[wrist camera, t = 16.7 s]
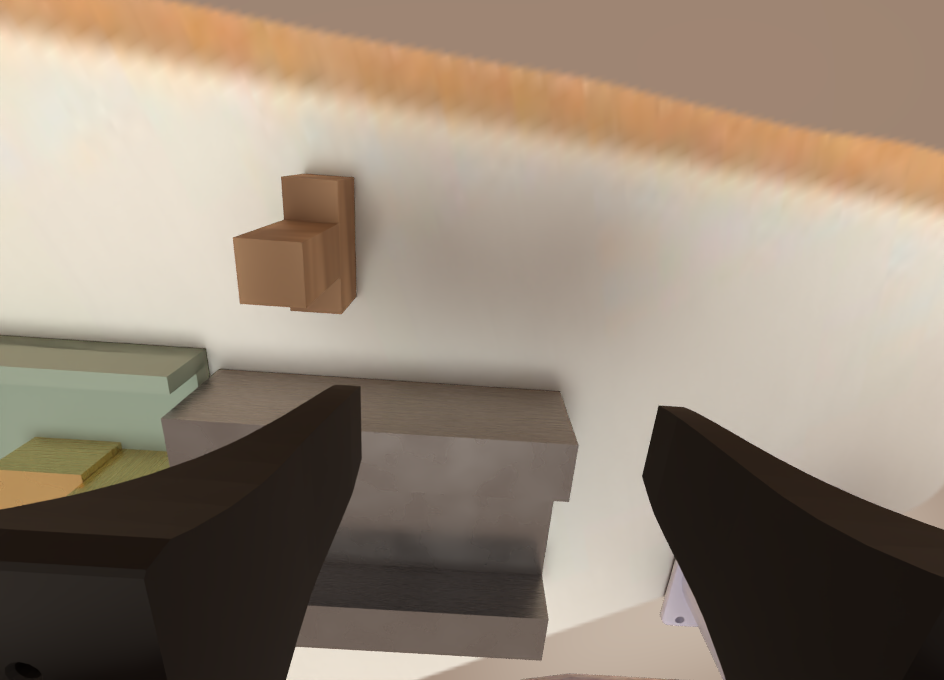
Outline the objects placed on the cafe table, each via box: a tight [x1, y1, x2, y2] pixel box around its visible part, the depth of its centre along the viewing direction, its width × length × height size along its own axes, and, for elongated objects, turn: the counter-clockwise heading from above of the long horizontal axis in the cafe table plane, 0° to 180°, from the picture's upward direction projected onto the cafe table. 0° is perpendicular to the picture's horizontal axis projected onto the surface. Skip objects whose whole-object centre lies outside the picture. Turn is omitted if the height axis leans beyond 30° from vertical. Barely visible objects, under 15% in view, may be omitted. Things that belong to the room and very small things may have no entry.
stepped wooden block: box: [233, 174, 356, 314], centre depth 17 cm, size 2×5×6 cm, turn 176°
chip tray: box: [0, 335, 209, 459], centre depth 23 cm, size 13×14×3 cm
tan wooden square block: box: [0, 437, 122, 509], centre depth 23 cm, size 4×4×2 cm
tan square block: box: [67, 449, 170, 496], centre depth 22 cm, size 4×4×2 cm
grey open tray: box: [161, 369, 578, 660], centre depth 23 cm, size 16×12×4 cm
